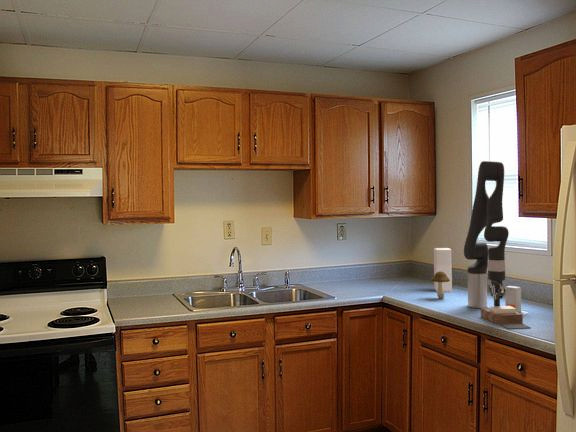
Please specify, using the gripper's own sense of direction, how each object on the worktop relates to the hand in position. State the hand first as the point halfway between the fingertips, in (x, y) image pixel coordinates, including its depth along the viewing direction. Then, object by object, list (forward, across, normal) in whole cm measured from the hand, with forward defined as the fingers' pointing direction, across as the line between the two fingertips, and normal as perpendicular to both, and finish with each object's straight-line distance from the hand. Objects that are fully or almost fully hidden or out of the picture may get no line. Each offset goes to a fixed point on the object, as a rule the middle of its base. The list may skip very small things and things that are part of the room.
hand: (497, 306), depth 254 cm
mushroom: (+5, -50, -10) cm, 51 cm away
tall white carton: (+5, -74, 0) cm, 74 cm away
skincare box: (+5, -12, +14) cm, 19 cm away
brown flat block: (+5, +4, 0) cm, 7 cm away
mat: (+5, +17, 0) cm, 18 cm away
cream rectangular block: (+1, +6, 0) cm, 6 cm away
